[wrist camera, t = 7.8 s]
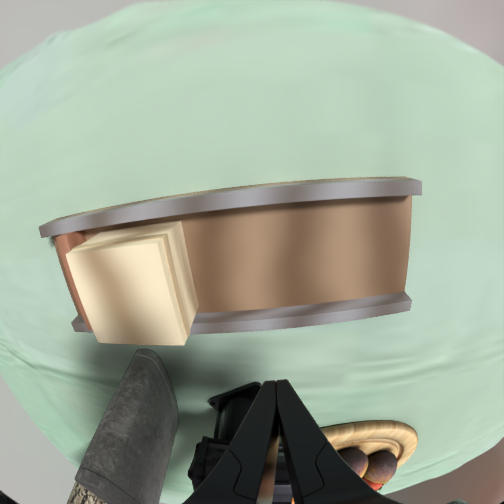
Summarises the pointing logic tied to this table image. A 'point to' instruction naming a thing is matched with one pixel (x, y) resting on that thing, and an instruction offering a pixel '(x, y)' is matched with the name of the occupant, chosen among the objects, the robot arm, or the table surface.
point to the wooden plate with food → (373, 448)
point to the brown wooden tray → (274, 250)
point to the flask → (133, 436)
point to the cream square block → (136, 284)
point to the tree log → (83, 496)
